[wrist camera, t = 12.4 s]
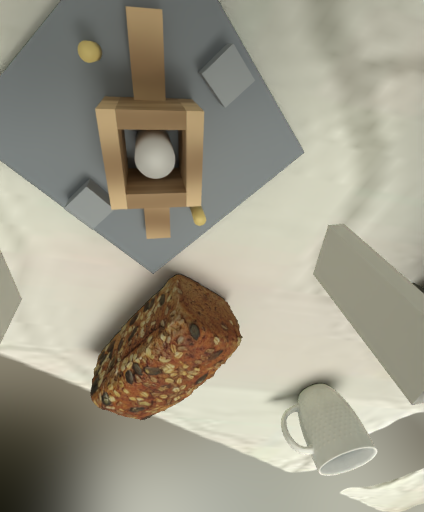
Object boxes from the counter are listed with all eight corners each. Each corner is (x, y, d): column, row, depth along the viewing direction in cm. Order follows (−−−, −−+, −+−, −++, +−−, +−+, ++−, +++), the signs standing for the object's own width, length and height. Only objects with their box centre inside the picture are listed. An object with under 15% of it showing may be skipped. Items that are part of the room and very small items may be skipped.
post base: (152, -106, 19) (156, -162, 14) (299, 149, 30) (330, 169, 25) (-35, 125, 24) (-83, 146, 19) (152, 267, 35) (154, 303, 30)
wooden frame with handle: (91, 5, 20) (76, -8, 15) (192, 14, 21) (207, 4, 17) (123, 232, 30) (120, 266, 26) (190, 228, 32) (199, 260, 27)
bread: (174, 265, 36) (183, 327, 28) (233, 299, 41) (255, 360, 33) (92, 351, 42) (80, 423, 34) (153, 371, 47) (155, 437, 39)
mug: (267, 413, 63) (292, 486, 53) (275, 384, 57) (305, 461, 46) (330, 401, 66) (366, 468, 55) (344, 372, 59) (387, 442, 49)
